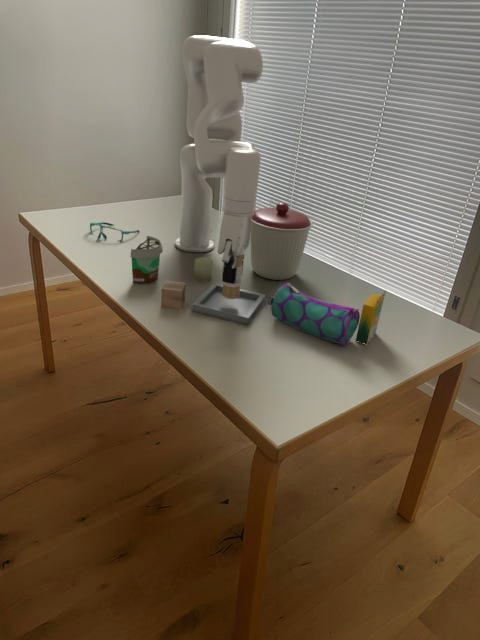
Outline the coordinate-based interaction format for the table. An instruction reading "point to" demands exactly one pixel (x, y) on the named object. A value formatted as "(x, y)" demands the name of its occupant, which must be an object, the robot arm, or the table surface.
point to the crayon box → (370, 318)
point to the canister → (278, 241)
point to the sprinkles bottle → (234, 289)
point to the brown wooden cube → (173, 294)
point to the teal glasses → (110, 228)
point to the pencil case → (314, 315)
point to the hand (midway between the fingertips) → (232, 277)
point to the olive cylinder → (203, 268)
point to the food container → (146, 261)
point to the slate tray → (229, 305)
